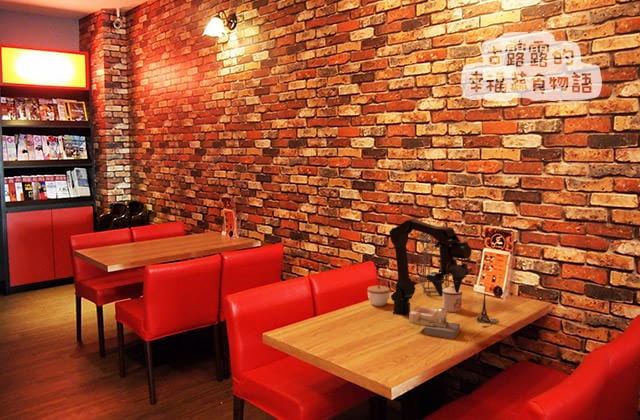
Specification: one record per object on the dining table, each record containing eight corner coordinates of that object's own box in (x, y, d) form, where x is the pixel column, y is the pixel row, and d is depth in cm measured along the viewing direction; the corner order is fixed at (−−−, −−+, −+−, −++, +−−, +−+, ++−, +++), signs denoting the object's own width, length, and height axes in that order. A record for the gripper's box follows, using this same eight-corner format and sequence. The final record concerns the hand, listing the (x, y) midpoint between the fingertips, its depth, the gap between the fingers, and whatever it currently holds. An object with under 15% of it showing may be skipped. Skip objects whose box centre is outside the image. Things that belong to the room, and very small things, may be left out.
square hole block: (409, 322, 234) (409, 313, 234) (415, 315, 243) (415, 306, 243) (432, 325, 230) (432, 316, 229) (437, 318, 239) (438, 309, 238)
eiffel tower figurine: (485, 329, 226) (486, 298, 224) (464, 323, 234) (465, 293, 232) (504, 321, 236) (505, 291, 234) (483, 316, 243) (484, 287, 242)
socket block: (424, 334, 219) (424, 327, 219) (430, 326, 228) (430, 320, 228) (454, 339, 214) (454, 331, 213) (459, 331, 223) (459, 324, 222)
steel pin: (437, 333, 220) (437, 309, 219) (439, 330, 223) (439, 307, 222) (445, 334, 219) (445, 310, 218) (446, 332, 222) (447, 308, 220)
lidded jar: (365, 306, 257) (365, 287, 256) (370, 300, 267) (370, 281, 266) (387, 308, 254) (387, 289, 252) (391, 302, 264) (392, 283, 262)
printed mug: (456, 313, 245) (457, 288, 244) (438, 310, 251) (439, 285, 249) (467, 307, 254) (468, 283, 253) (449, 303, 260) (450, 280, 258)
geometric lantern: (443, 289, 285) (446, 224, 280) (452, 298, 270) (456, 230, 265) (414, 289, 284) (416, 224, 279) (421, 299, 269) (424, 230, 264)
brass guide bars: (412, 323, 223) (412, 316, 223) (416, 319, 228) (416, 312, 228) (445, 328, 217) (445, 321, 217) (448, 323, 222) (449, 317, 222)
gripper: (443, 262, 214) (446, 301, 215) (477, 256, 223) (479, 293, 224) (424, 259, 223) (427, 297, 224) (457, 254, 233) (459, 289, 234)
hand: (449, 294), depth 226 cm, fingers open, 9 cm apart
